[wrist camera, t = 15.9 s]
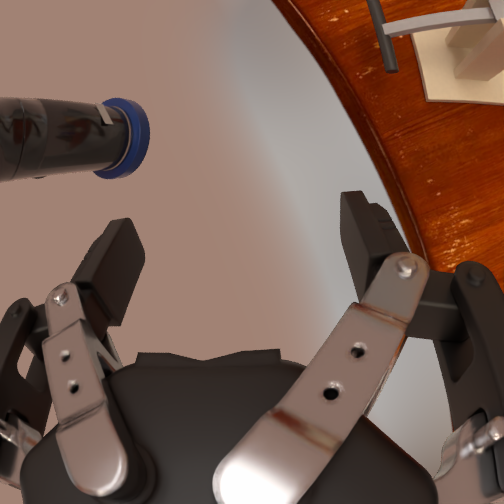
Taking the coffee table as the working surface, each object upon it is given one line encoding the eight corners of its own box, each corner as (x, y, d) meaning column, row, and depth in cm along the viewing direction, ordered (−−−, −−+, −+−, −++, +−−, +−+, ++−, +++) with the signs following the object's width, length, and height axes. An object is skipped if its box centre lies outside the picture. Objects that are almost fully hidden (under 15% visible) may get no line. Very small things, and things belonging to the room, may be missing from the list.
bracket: (426, 101, 27) (470, 54, 13) (406, 24, 25) (424, -54, 10) (513, 106, 23) (587, 79, 8) (493, 31, 21) (544, -26, 6)
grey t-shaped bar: (391, 76, 22) (380, 69, 20) (372, 4, 20) (359, -6, 19) (538, 64, 12) (539, 54, 10) (505, -18, 10) (502, -32, 8)
